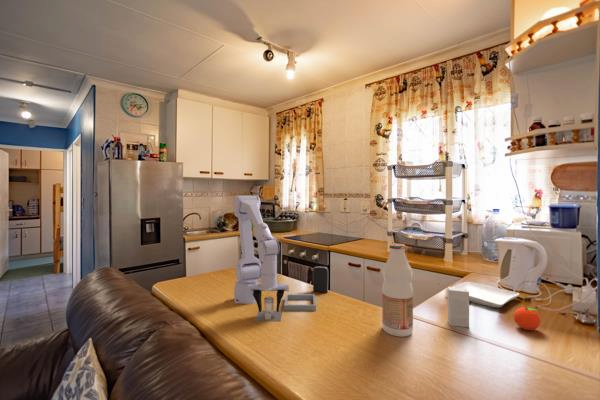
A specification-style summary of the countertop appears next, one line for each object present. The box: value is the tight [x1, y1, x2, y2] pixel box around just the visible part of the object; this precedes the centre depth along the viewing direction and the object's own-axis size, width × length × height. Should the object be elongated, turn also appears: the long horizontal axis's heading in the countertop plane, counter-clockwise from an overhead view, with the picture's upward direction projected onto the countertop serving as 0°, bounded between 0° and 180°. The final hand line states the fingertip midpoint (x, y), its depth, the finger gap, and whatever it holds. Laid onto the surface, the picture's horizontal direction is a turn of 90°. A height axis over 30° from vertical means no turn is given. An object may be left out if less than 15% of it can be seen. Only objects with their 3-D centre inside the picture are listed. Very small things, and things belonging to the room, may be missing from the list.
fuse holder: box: [254, 310, 283, 322], centre depth 105 cm, size 9×9×3 cm
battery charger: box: [312, 265, 329, 294], centre depth 133 cm, size 7×4×11 cm, turn 79°
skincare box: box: [446, 286, 470, 328], centre depth 99 cm, size 6×4×12 cm
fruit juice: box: [381, 243, 414, 337], centre depth 95 cm, size 9×9×28 cm
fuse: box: [263, 296, 275, 317], centre depth 105 cm, size 3×3×6 cm
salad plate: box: [445, 281, 520, 309], centre depth 124 cm, size 21×21×3 cm
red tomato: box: [513, 306, 543, 331], centre depth 95 cm, size 8×7×7 cm
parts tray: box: [283, 293, 317, 312], centre depth 116 cm, size 12×12×3 cm
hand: (269, 310), depth 105 cm, fingers open, 6 cm apart
